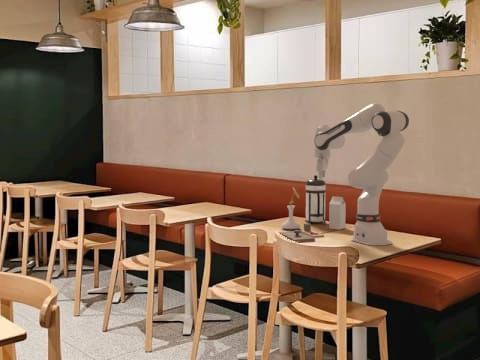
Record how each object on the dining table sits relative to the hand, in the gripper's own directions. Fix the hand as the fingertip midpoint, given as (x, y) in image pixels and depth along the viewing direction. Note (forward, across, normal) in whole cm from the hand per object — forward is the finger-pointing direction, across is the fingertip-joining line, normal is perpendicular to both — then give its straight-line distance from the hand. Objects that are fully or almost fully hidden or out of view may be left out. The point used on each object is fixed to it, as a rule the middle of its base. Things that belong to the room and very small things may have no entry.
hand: (321, 178), depth 342 cm
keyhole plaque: (+31, -11, +3) cm, 33 cm away
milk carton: (+31, +11, -8) cm, 34 cm away
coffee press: (+32, +26, +7) cm, 42 cm away
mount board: (+31, -24, +10) cm, 40 cm away
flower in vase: (+32, +4, +18) cm, 36 cm away
